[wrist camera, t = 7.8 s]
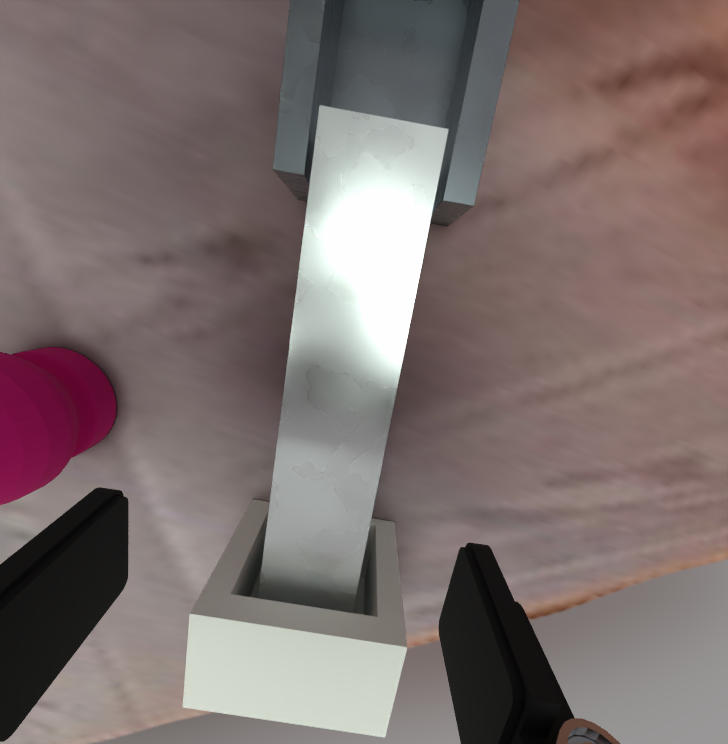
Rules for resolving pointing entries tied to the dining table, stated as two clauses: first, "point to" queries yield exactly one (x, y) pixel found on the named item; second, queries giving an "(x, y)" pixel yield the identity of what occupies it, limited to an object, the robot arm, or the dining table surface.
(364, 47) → the sleeve
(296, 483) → the grey rectangular bar
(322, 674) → the socket block
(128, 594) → the dining table surface
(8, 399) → the pepper mill
